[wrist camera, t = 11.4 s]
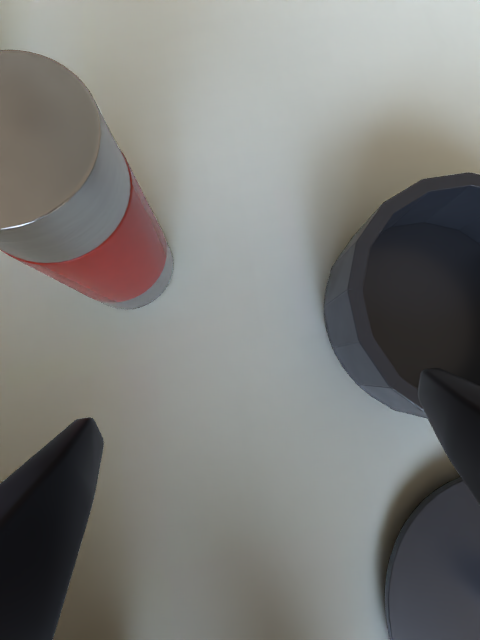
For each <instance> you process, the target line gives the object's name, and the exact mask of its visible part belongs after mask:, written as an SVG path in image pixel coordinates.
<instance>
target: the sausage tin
mask: <svg viewBox="0 0 480 640" xmlns="http://www.w3.org/2000/svg"><path fill="white" fill-rule="evenodd" d="M0 250H1V251H2V252H4V253H6V254H7V255H9V256H11V257H13V258H14V259H16V260H18V261H20V262H22V263H24V264H26V265H28V266H30V267H32V268H34V269H36V270H38V271H40V272H42V273H43V274H45V275H47V276H49V277H51V278H53V279H55V280H57V281H59V282H61V283H63V284H65V285H67V286H69V287H71V288H73V289H74V290H76V291H78V292H80V293H82V294H84V295H86V296H88V297H90V298H92V299H95V300H98V301H99V302H101V303H103V304H105V305H107V306H110V307H113V308H117V309H127V310H128V309H136V308H140V307H143V306H145V305H147V304H149V303H151V302H153V301H154V300H156V299H157V298H158V297H159V296H160V295H161V294H162V293H163V292H164V290H165V289H166V287H167V286H168V284H169V282H170V280H171V277H172V273H173V256H172V252H171V249H170V247H169V245H168V243H167V241H166V239H165V236H164V234H163V231H162V229H161V227H160V225H159V223H158V221H157V219H156V217H155V215H154V213H153V211H152V209H151V208H150V206H149V204H148V202H147V200H146V198H145V196H144V194H143V192H142V190H141V188H140V186H139V184H138V182H137V180H136V178H135V176H134V174H133V172H132V170H131V168H130V166H129V164H128V162H127V160H126V158H125V156H124V154H123V153H122V151H121V150H120V149H119V147H118V145H117V143H116V141H115V139H114V137H113V135H112V133H111V131H110V129H109V127H108V126H107V124H106V122H105V120H104V118H103V116H102V114H101V112H100V110H99V108H98V106H97V104H96V102H95V100H94V98H93V96H92V94H91V93H90V91H89V90H88V88H87V87H86V86H85V84H84V83H83V82H82V81H81V80H80V79H79V78H78V77H77V76H76V75H75V74H74V73H73V72H71V71H70V70H69V69H68V68H66V67H65V66H63V65H62V64H60V63H58V62H57V61H55V60H53V59H50V58H48V57H45V56H43V55H39V54H36V53H32V52H26V51H20V50H0Z"/></svg>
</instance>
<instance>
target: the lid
mask: <svg viewBox="0 0 480 640" xmlns="http://www.w3.org/2000/svg"><path fill="white" fill-rule="evenodd" d="M385 613H386V620H387V627H388V633H389V636H390V640H480V506H479V504H478V503H477V501H476V500H475V498H474V496H473V495H472V493H471V492H470V490H469V489H468V487H467V486H466V484H465V483H464V481H463V479H462V478H461V477H460V478H457V479H455V480H453V481H451V482H448V483H446V484H445V485H443V486H442V487H440V488H438V489H437V490H435V491H434V492H433V493H431V494H430V495H429V496H428V497H427V498H426V499H424V500H423V501H422V502H421V503H420V504H419V506H418V507H417V508H416V509H415V510H414V511H413V512H412V514H411V515H410V517H409V518H408V520H407V521H406V523H405V524H404V526H403V527H402V529H401V531H400V533H399V535H398V537H397V539H396V542H395V544H394V547H393V550H392V553H391V556H390V560H389V565H388V570H387V574H386V585H385Z"/></svg>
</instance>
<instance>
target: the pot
mask: <svg viewBox="0 0 480 640" xmlns="http://www.w3.org/2000/svg"><path fill="white" fill-rule="evenodd" d="M324 316H325V323H326V329H327V333H328V336H329V340H330V343H331V345H332V347H333V350H334V352H335V354H336V356H337V358H338V360H339V361H340V363H341V365H342V366H343V368H344V369H345V370H346V372H347V373H348V374H349V376H350V377H351V378H352V379H353V380H354V381H355V383H356V384H357V385H358V386H360V387H361V388H362V389H363V390H364V391H366V392H367V393H368V394H369V395H370V396H372V397H373V398H375V399H377V400H378V401H380V402H381V403H383V404H385V405H387V406H388V407H390V408H391V409H393V410H395V411H399V412H403V413H407V414H412V415H416V416H420V417H424V418H427V416H426V414H425V412H424V410H423V408H422V406H421V404H420V402H419V399H418V387H419V380H420V373H421V371H422V370H424V369H429V368H441V369H443V370H445V371H448V372H450V373H452V374H454V375H457V376H459V377H461V378H464V379H466V380H468V381H470V382H473V383H475V384H477V385H479V386H480V175H479V174H475V173H462V174H455V175H448V176H441V177H434V178H427V179H422V180H420V181H419V182H417V183H415V184H414V185H412V186H410V187H409V188H407V189H405V190H404V191H402V192H400V193H399V194H397V195H395V196H394V197H392V198H390V199H389V200H387V201H385V202H384V203H383V204H382V205H381V206H380V207H379V208H378V209H377V210H376V211H375V213H374V214H373V215H372V216H371V217H370V218H369V219H368V220H367V222H366V223H365V224H364V225H363V226H362V227H361V228H360V229H359V231H358V232H357V233H356V234H355V235H354V236H353V237H352V239H351V240H350V242H349V243H348V245H347V246H346V247H345V249H344V250H343V251H342V253H341V254H340V256H339V257H338V259H337V260H336V262H335V263H334V265H333V266H332V268H331V273H330V276H329V279H328V283H327V286H326V292H325V299H324Z"/></svg>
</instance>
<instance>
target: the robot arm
mask: <svg viewBox="0 0 480 640" xmlns="http://www.w3.org/2000/svg"><path fill="white" fill-rule="evenodd" d="M418 399H419V402H420V404H421V406H422V408H423V410H424V412H425V414H426V416H427V418H428V420H429V422H430V424H431V426H432V428H433V430H434V432H435V434H436V436H437V437H438V439H439V441H440V443H441V445H442V447H443V449H444V451H445V453H446V454H447V456H448V458H449V459H450V461H451V462H452V464H453V466H454V467H455V469H456V470H457V472H458V473H459V475H460V476H461V478H462V479H463V481H464V483H465V484H466V486H467V487H468V489H469V490H470V492H471V493H472V495H473V496H474V498H475V500H476V501H477V503H478V504H479V506H480V386H479V385H477V384H475V383H473V382H470V381H468V380H466V379H464V378H461V377H459V376H457V375H454V374H452V373H450V372H448V371H445V370H443V369H441V368H429V369H424V370H422V371H421V373H420V380H419V387H418ZM103 447H104V441H103V437H102V435H101V433H100V431H99V429H98V427H97V425H96V422H95V421H94V419H93V418H90V417H89V418H82V419H77V420H75V421H74V422H73V423H71V424H70V425H69V426H68V427H67V428H66V429H64V430H63V431H62V432H61V433H60V434H59V435H57V436H56V437H55V438H54V439H53V440H51V441H50V442H49V443H48V444H47V445H46V446H44V447H43V448H42V449H41V450H40V451H38V452H37V453H36V454H35V455H34V456H33V457H31V458H30V459H29V460H28V461H27V462H26V463H24V464H23V465H22V466H21V467H20V468H18V469H17V470H16V471H15V472H14V473H13V474H11V475H10V476H9V477H8V478H7V479H5V480H4V481H3V482H2V483H1V484H0V640H53V637H54V634H55V630H56V627H57V623H58V620H59V617H60V613H61V610H62V606H63V603H64V600H65V596H66V593H67V589H68V586H69V583H70V579H71V576H72V572H73V569H74V566H75V562H76V559H77V555H78V552H79V549H80V545H81V542H82V538H83V535H84V532H85V528H86V525H87V522H88V518H89V515H90V511H91V508H92V504H93V500H94V495H95V490H96V485H97V480H98V474H99V469H100V463H101V458H102V453H103Z"/></svg>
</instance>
